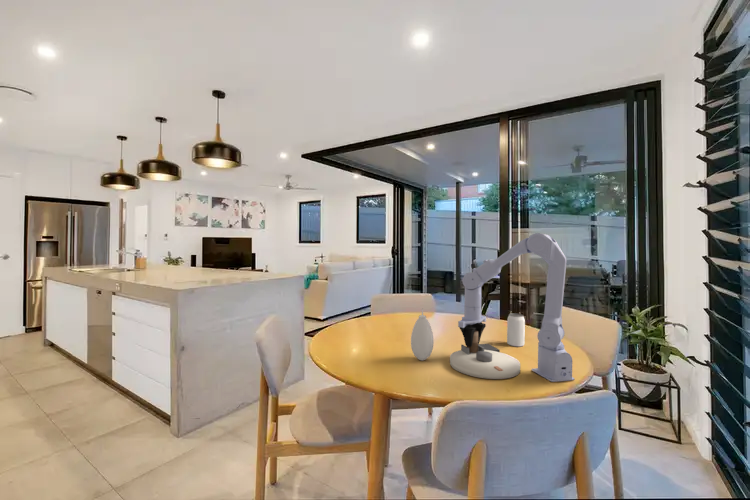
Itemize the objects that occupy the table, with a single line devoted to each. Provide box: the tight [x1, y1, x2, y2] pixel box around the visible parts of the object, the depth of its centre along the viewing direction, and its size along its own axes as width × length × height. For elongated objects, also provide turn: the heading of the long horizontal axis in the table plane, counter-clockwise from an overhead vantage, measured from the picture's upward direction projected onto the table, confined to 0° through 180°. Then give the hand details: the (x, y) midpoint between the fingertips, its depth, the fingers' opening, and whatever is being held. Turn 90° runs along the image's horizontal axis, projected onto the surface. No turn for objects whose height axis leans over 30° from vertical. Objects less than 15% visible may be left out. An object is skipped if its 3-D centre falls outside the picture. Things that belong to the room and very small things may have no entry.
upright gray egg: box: [410, 308, 435, 361], centre depth 119 cm, size 8×8×18 cm
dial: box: [449, 343, 521, 380], centre depth 113 cm, size 22×22×4 cm
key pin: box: [465, 330, 478, 353], centre depth 120 cm, size 4×4×7 cm
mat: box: [479, 343, 501, 352], centre depth 130 cm, size 8×8×1 cm
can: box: [506, 312, 526, 348], centre depth 137 cm, size 6×6×12 cm
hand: (472, 344), depth 121 cm, fingers closed on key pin, 4 cm apart
